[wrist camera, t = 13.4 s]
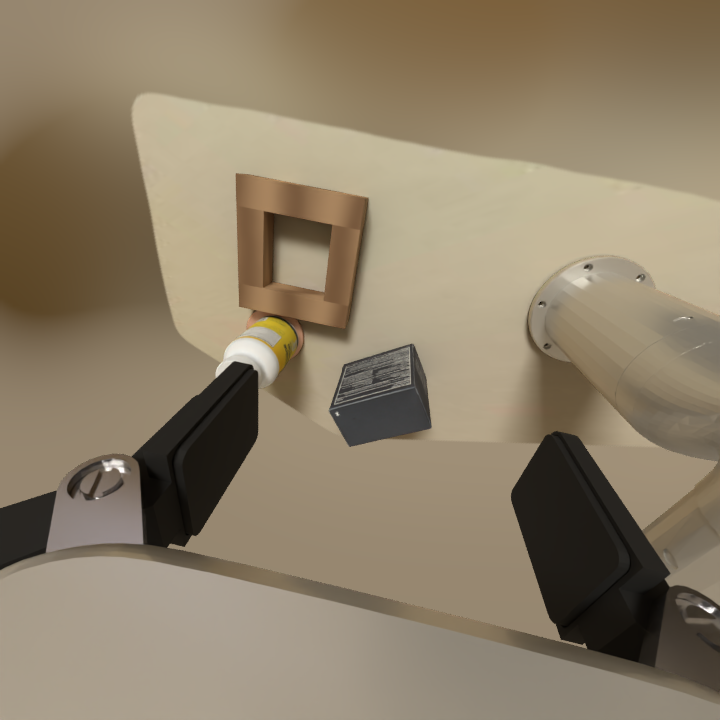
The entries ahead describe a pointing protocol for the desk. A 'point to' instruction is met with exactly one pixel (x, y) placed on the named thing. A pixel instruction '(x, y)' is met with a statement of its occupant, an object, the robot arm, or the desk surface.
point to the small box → (381, 397)
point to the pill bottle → (263, 348)
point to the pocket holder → (256, 248)
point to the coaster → (293, 321)
